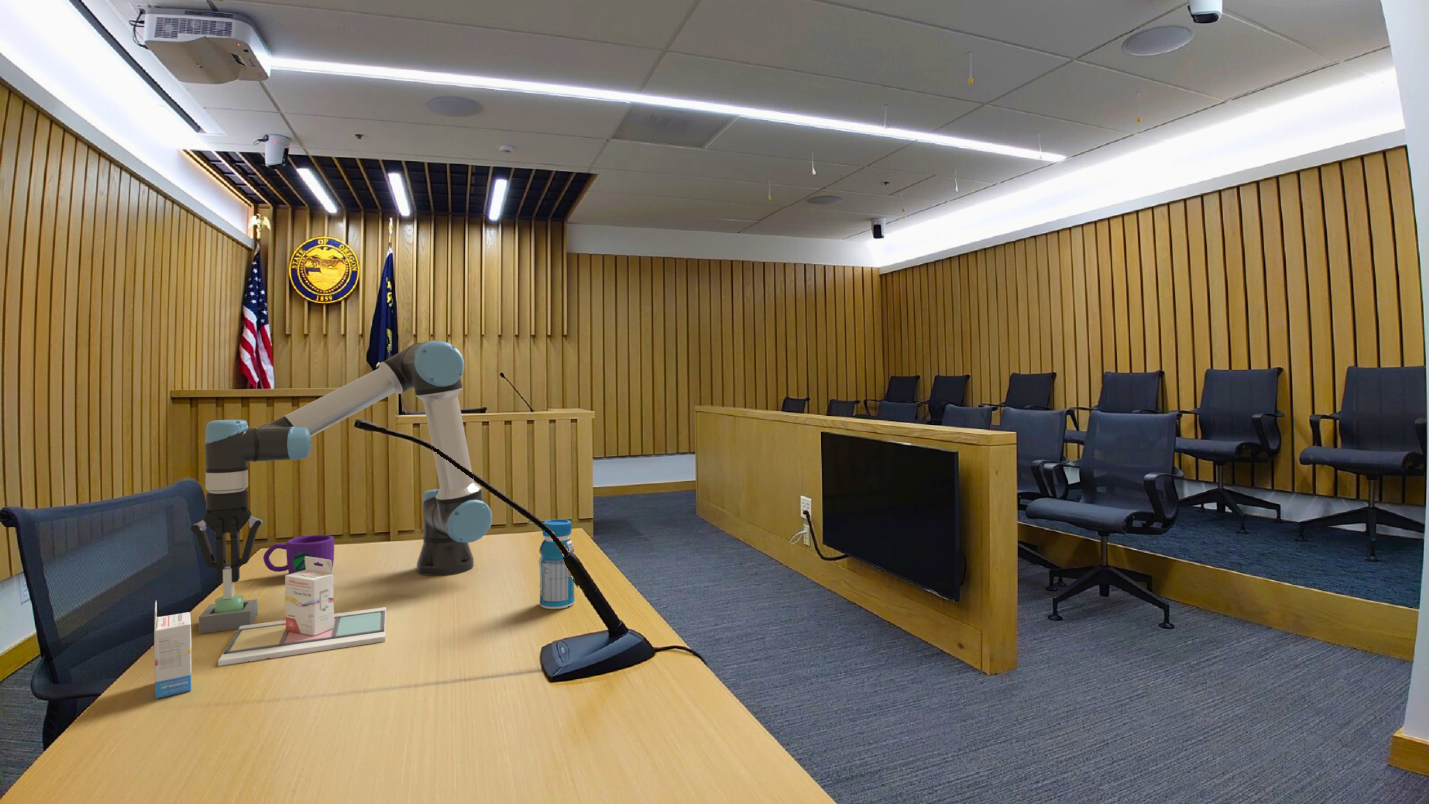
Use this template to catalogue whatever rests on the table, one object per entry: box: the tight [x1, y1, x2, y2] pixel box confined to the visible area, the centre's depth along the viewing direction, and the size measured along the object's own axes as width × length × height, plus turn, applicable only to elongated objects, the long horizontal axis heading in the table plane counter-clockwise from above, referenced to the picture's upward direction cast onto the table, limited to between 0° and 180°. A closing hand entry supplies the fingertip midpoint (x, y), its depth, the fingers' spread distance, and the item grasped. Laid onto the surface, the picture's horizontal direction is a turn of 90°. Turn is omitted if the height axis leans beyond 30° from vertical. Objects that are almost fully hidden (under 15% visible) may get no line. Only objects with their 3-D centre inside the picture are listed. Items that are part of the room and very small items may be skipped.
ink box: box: [153, 600, 192, 700], centre depth 116 cm, size 8×5×15 cm, turn 39°
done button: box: [214, 594, 244, 613], centre depth 147 cm, size 5×5×5 cm
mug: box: [262, 534, 335, 575], centre depth 184 cm, size 17×11×10 cm, turn 103°
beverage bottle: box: [538, 518, 576, 610], centre depth 160 cm, size 8×8×20 cm
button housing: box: [198, 598, 259, 635], centre depth 147 cm, size 9×9×4 cm
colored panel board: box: [217, 606, 387, 667], centre depth 140 cm, size 28×20×1 cm
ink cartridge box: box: [284, 556, 335, 636], centre depth 139 cm, size 9×5×15 cm, turn 70°
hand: (228, 597), depth 147 cm, fingers closed
